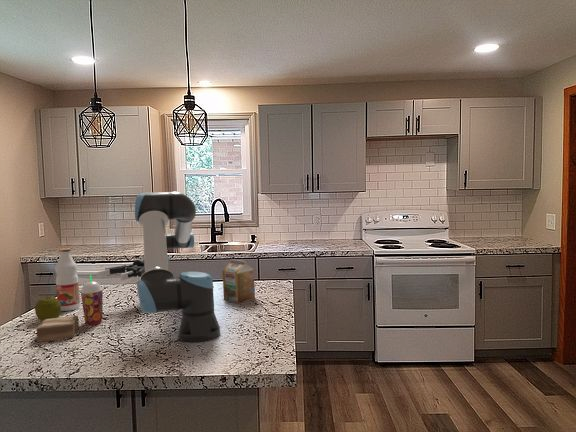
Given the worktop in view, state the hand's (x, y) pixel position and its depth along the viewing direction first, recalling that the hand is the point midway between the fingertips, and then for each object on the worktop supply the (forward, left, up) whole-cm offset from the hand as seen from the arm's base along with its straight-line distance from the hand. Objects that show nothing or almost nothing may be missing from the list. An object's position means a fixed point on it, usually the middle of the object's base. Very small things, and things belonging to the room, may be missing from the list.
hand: (109, 276), depth 192 cm
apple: (+3, +25, -18) cm, 31 cm away
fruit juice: (+20, +20, -17) cm, 33 cm away
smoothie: (-8, +6, -17) cm, 20 cm away
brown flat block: (-19, +17, -17) cm, 31 cm away
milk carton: (+4, -57, -18) cm, 60 cm away
